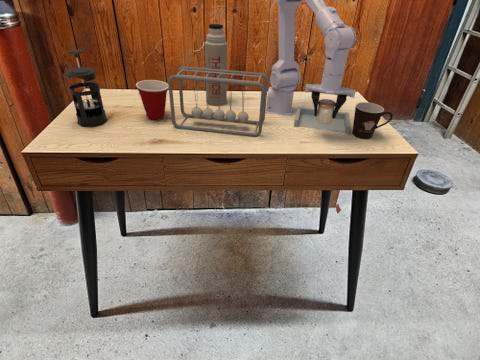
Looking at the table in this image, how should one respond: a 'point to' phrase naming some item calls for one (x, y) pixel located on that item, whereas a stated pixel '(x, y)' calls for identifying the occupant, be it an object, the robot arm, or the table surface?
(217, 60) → the thermos bottle
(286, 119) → the table surface
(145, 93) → the plastic cup
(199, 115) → the newton's cradle
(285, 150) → the table surface
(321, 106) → the cylinder with tab
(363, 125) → the coffee mug
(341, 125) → the caddy
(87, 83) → the french press
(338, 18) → the robot arm
